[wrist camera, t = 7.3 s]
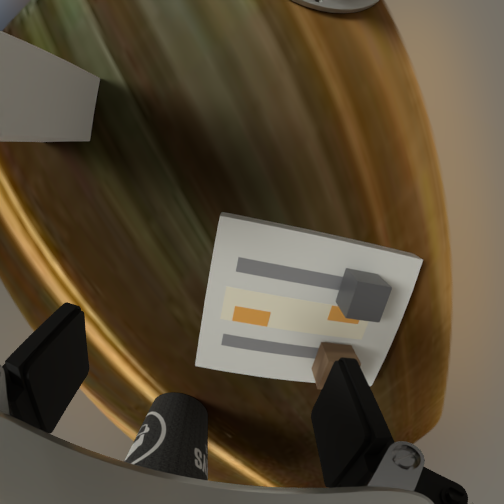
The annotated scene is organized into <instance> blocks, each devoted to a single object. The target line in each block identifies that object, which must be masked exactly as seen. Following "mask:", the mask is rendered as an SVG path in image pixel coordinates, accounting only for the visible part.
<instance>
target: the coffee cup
mask: <svg viewBox="0 0 504 504" xmlns="http://www.w3.org/2000/svg"><path fill="white" fill-rule="evenodd" d="M124 462H127V463H130V464H134V465H137V466H141V467H145V468H149V469H153V470H157V471H161V472H165V473H170V474H174V475H179V476H184V477H190V478H195V479H201V480H207V481H208V413H207V410H206V408H205V407H204V406H203V405H202V403H200V402H199V401H198V400H196V399H195V398H193V397H191V396H188V395H185V394H181V393H165V394H162V395H160V396H158V397H157V398H156V399H155V400H154V402H153V404H152V406H151V408H150V410H149V412H148V414H147V416H146V418H145V420H144V422H143V424H142V426H141V428H140V430H139V432H138V434H137V436H136V439H135V441H134V443H133V445H132V447H131V449H130V451H129V453H128V455H127V457H126V459H125V461H124Z"/></svg>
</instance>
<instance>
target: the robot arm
mask: <svg viewBox="0 0 504 504" xmlns="http://www.w3.org/2000/svg"><path fill="white" fill-rule="evenodd" d="M292 1H294V2H296V3H298V4H301V5H303V6H305V7H309V8H312V9H316V10H319V11H325V12H331V13H354V12H359V11H362V10H366V9H368V8H370V7H372V6H374V5H375V4H376V3H377V2H378V1H379V0H292ZM88 372H89V361H88V353H87V343H86V331H85V317H84V312H83V311H81V308H80V307H79V306H77V305H74V304H70V303H64V304H63V305H62V306H61V307H60V308H59V309H58V310H56V311H55V312H54V313H53V314H52V315H51V316H50V317H49V318H48V319H47V320H46V321H45V322H44V323H43V324H42V325H41V326H40V327H39V328H37V329H36V330H35V331H34V332H33V333H32V334H31V335H30V336H29V337H28V338H27V339H26V340H25V341H24V342H23V343H22V344H21V345H20V346H19V347H18V348H17V349H16V350H15V351H14V353H12V354H11V355H10V357H9V358H8V359H7V360H6V361H5V364H4V365H3V366H1V365H0V504H468V503H467V502H468V496H467V493H466V491H465V489H464V488H463V487H462V486H461V485H459V484H457V483H455V482H453V481H451V480H449V479H447V478H445V477H443V476H441V475H439V474H437V473H435V472H433V471H431V470H429V469H427V468H425V467H423V466H424V461H425V460H424V455H423V454H422V452H421V450H419V449H418V448H417V447H416V446H415V445H413V444H411V443H408V442H402V441H400V442H395V443H394V440H393V438H392V436H391V433H390V431H389V429H388V426H387V424H386V422H385V420H384V417H383V415H382V413H381V411H380V409H379V406H378V404H377V402H376V400H375V398H374V395H373V393H372V391H371V389H370V387H369V385H368V382H367V380H366V378H365V376H364V374H363V372H362V370H361V368H360V365H359V363H358V361H357V360H356V359H355V358H344V357H341V358H340V359H339V360H338V361H335V362H334V363H333V366H332V368H331V370H330V373H329V375H328V377H327V379H326V382H325V384H324V386H323V388H322V390H321V393H320V395H319V397H318V399H317V401H316V403H315V405H314V407H313V410H312V414H311V419H312V424H313V428H314V433H315V438H316V443H317V448H318V452H319V457H320V462H321V467H322V472H323V477H324V482H325V486H326V487H329V488H279V487H261V486H248V485H238V484H229V483H221V482H214V481H207V480H201V479H195V478H190V477H184V476H179V475H174V474H170V473H165V472H161V471H157V470H153V469H149V468H145V467H141V466H137V465H134V464H130V463H127V462H124V461H120V460H117V459H114V458H111V457H108V456H105V455H102V454H99V453H96V452H93V451H90V450H87V449H85V448H82V447H80V446H77V445H74V444H72V443H70V442H67V441H65V440H63V439H60V438H58V437H55V436H53V435H51V434H50V433H52V431H53V430H54V428H55V427H56V425H57V423H58V421H59V420H60V418H61V416H62V415H63V413H64V411H65V410H66V408H67V406H68V405H69V403H70V402H71V400H72V398H73V397H74V395H75V394H76V392H77V390H78V389H79V387H80V386H81V384H82V382H83V381H84V379H85V378H86V376H87V374H88ZM48 433H49V434H48ZM471 504H473V503H471Z"/></svg>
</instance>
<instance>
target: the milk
mask: <svg viewBox="0 0 504 504" xmlns="http://www.w3.org/2000/svg"><path fill="white" fill-rule="evenodd" d="M99 83H100V78H99V77H97V76H95V75H93V74H91V73H89V72H87V71H85V70H83V69H81V68H80V67H78V66H76V65H74V64H72V63H70V62H68V61H66V60H63V59H61V58H59V57H57V56H55V55H53V54H51V53H49V52H47V51H45V50H43V49H40V48H38V47H36V46H34V45H32V44H30V43H27V42H25V41H23V40H20V39H18V38H16V37H14V36H11V35H9V34H6V33H4V32H2V31H0V141H18V142H65V141H90V139H91V131H92V124H93V117H94V111H95V105H96V99H97V93H98V88H99Z"/></svg>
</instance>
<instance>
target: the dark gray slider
mask: <svg viewBox="0 0 504 504" xmlns="http://www.w3.org/2000/svg"><path fill="white" fill-rule="evenodd" d="M391 290H392V287H391V286H390V285H389V284H388V283H387V282H386V281H385V280H384V279H382V278H381V277H380V276H379V275H378V274H374V273H369V272H364V271H359V270H354V269H349V268H346V269H345V273H344V276H343V279H342V282H341V286H340V289H339V292H338V295H337V298H336V301H335V302H336V303H337V305H338V306H339V308H340V310H341V311H342V313H343V315H344V316H345V318H348V319H356V320H363V321H371V322H380V320H381V317H382V314H383V312H384V309H385V306H386V304H387V301H388V298H389V295H390V293H391Z"/></svg>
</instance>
